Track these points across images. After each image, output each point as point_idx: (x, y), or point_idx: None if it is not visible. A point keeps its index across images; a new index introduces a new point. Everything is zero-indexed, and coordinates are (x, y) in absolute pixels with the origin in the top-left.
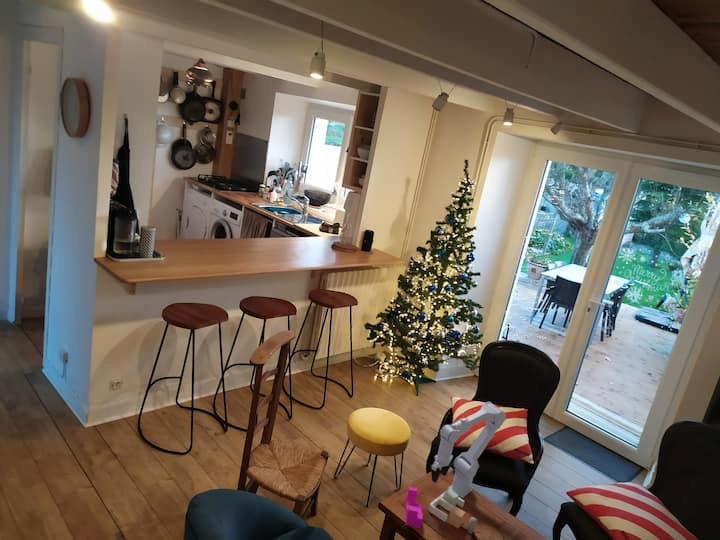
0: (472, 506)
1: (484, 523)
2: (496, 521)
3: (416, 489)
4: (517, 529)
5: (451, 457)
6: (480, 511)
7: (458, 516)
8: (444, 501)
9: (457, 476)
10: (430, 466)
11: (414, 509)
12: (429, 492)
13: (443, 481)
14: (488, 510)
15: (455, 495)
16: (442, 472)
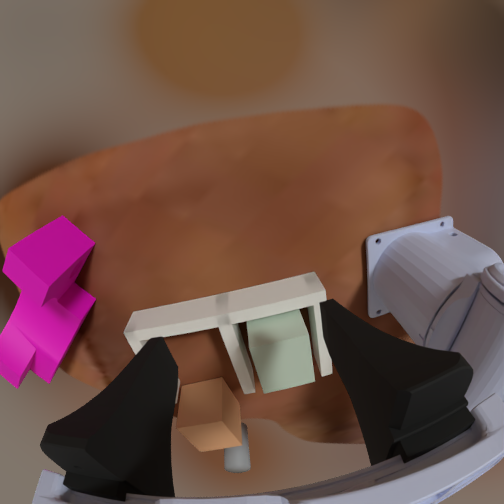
0: None
1: (314, 418)
2: (356, 416)
3: (41, 291)
4: None
5: (447, 497)
6: None
7: (195, 444)
8: (227, 350)
9: (424, 324)
10: (42, 450)
11: (6, 374)
12: (240, 211)
13: (396, 176)
14: None
15: (294, 380)
16: (327, 329)
